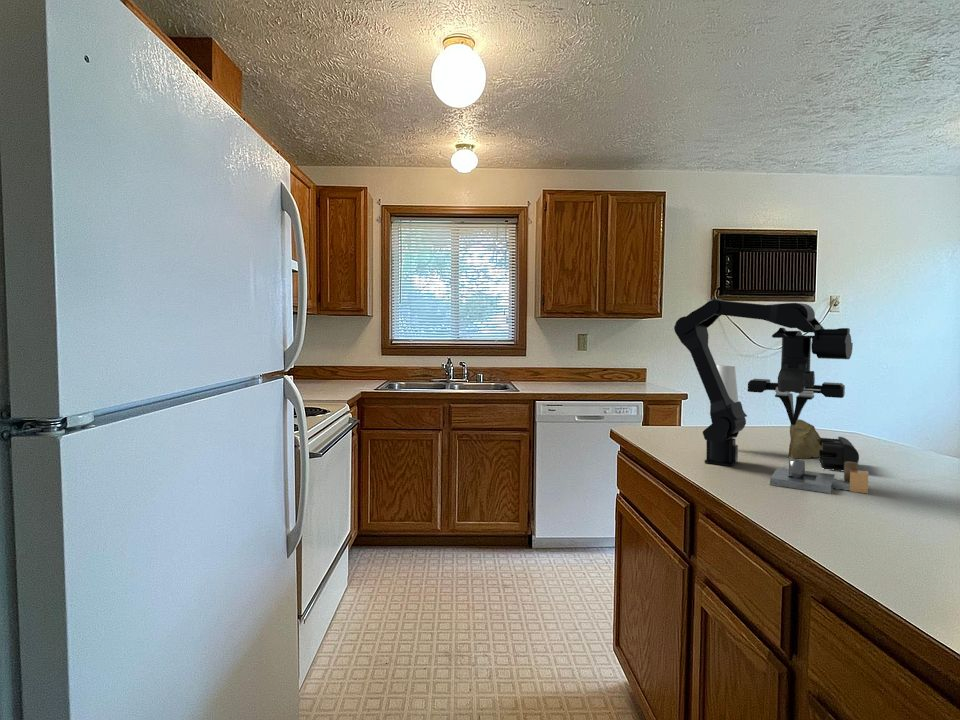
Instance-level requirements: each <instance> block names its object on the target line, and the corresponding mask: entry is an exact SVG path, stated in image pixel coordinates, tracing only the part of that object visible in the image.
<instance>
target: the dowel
mask: <svg viewBox="0 0 960 720" xmlns="http://www.w3.org/2000/svg"><path fill="white" fill-rule="evenodd" d="M851 469H852V470H859V462H858V463H856V462H850V461H846V462H844V471H843V473H844V474H843V480H844V481H850V470H851Z"/></svg>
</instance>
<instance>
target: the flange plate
mask: <svg viewBox="0 0 960 720" xmlns="http://www.w3.org/2000/svg"><path fill="white" fill-rule="evenodd" d="M769 485H770V486H774V487H782V488H789V489H795V488H796V489H797V490H802V489H803V491H808V490H810V491H809V492H815V491H817V492H816V493H822V492H824V493H823V494H829V493H831V494H832V492H833V489H832V488H835V489H834V490H839V489H844V490H843V491H846V490H850V491H855V492H854V493H857V492H861V493H860V494H864V493H867V494H866V495H868V494H869V493H868V492H869V471H868V470H859V469H858V470H852V469H851V470H850V481H844V479H835V474H834V473H833V474H831V473H826V472H825V473H824V472H818V471H811V470H809V471H808V470H805V479H798V478H791V477H789V468H785V467H776V469H775V471H774V472H773V474H772V475H771V477H770V478H769ZM796 489H795V490H796ZM831 491H832V492H831ZM850 491H849V492H850Z"/></svg>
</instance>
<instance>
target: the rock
mask: <svg viewBox="0 0 960 720" xmlns="http://www.w3.org/2000/svg"><path fill="white" fill-rule="evenodd" d="M789 437H790V440H789V441H790V442H789V445H788V446H789V447H788V458H790V457H791V458H795V459H812V458H811V457H814V458H820V457H819V450H823V445H819V441H820V438H822V437H821V436H820V434H819V433H818V432H817V430H816V428H815V426H814V425H813V424H810V423H809V422H807V421H805V420H803V419H799V418H798V420H797V423H796V425H791V424H790V426H789ZM791 458H790V459H791Z"/></svg>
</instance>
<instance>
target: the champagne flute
mask: <svg viewBox="0 0 960 720" xmlns="http://www.w3.org/2000/svg"><path fill="white" fill-rule="evenodd" d="M716 366H717V369H718V371H719V374H720V376H721V379H722V381H723V383H724V386H725V388H726V391H727V393H728V395H729V397H730V398H731V399H732V401H733V402H734V403H735V402H739V396H738V395H739V394H738V384H737V373H736V365H733V364H716Z"/></svg>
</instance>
